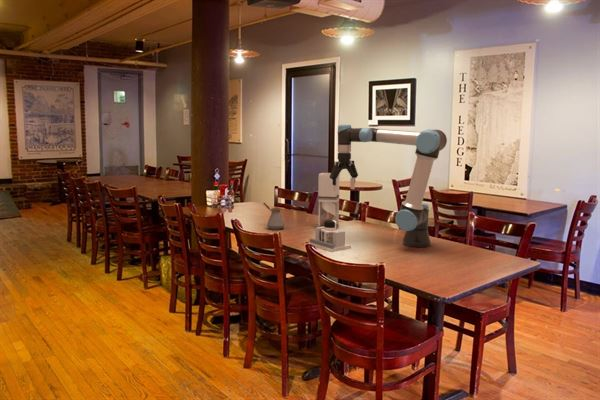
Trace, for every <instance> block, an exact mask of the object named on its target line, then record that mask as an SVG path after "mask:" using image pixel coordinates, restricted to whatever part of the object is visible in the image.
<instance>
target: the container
mask: <svg viewBox="0 0 600 400" xmlns="http://www.w3.org/2000/svg"><path fill="white" fill-rule="evenodd" d="M336 231H339V230H338V229H337V230H336V221H335V220H326V221H325V222H324V229H321V241H323V242H326V243H330V244H333V232H336Z"/></svg>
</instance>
